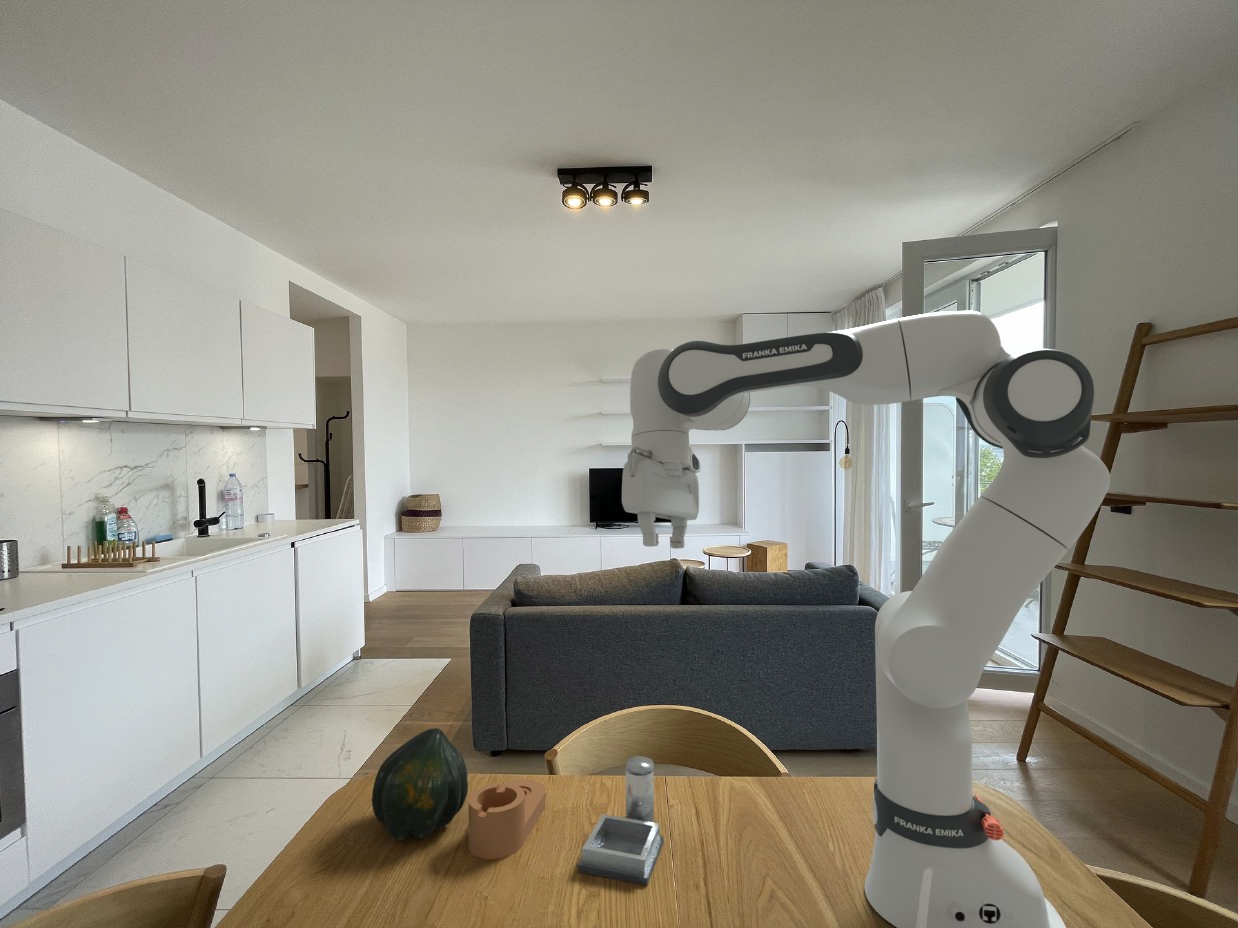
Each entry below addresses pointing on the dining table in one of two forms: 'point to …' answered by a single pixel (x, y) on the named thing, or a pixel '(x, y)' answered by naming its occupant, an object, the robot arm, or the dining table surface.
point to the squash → (420, 786)
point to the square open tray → (622, 849)
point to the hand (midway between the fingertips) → (664, 547)
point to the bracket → (503, 817)
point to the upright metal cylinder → (640, 789)
